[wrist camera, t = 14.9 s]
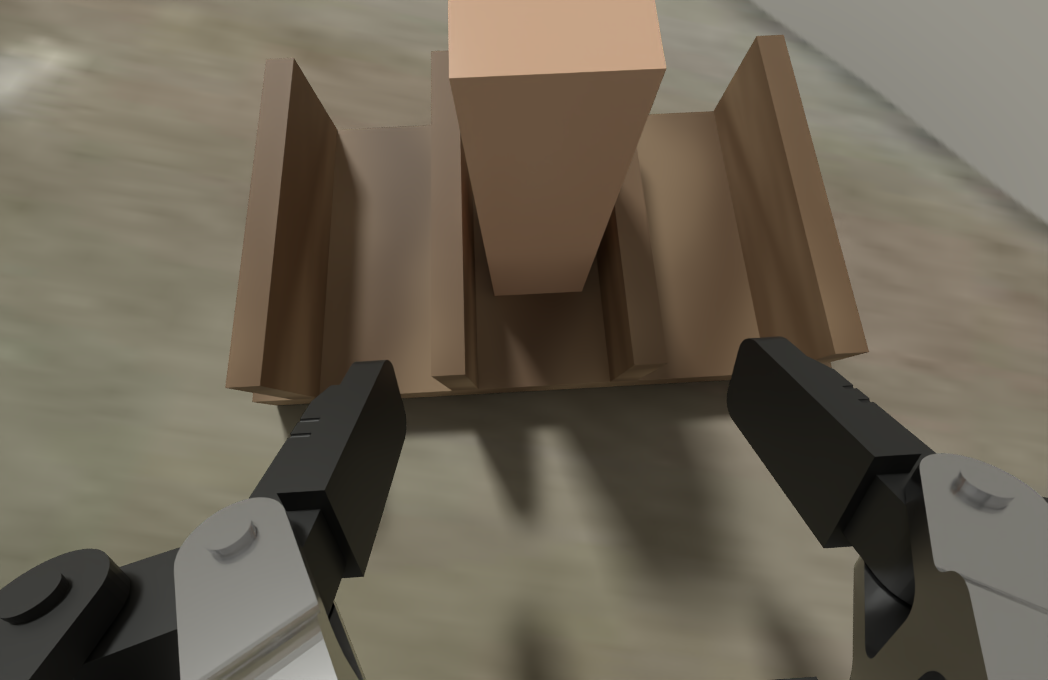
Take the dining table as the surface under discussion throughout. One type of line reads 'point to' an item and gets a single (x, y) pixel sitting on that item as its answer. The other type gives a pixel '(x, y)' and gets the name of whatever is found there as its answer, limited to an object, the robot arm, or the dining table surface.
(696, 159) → the walnut rack
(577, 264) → the clay block
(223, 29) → the dining table surface
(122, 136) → the dining table surface
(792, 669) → the dining table surface
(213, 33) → the dining table surface
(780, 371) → the robot arm
